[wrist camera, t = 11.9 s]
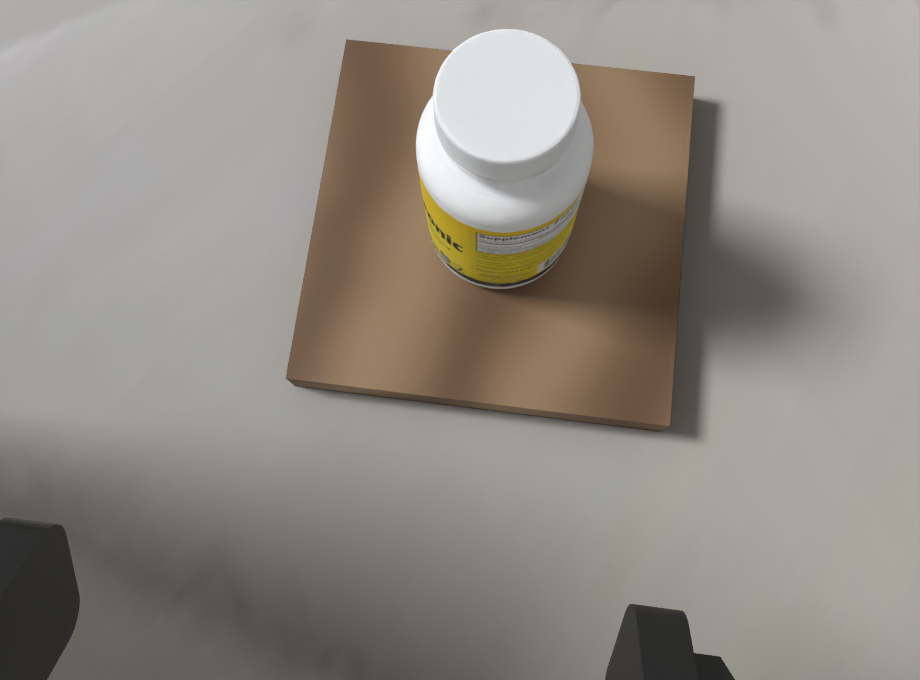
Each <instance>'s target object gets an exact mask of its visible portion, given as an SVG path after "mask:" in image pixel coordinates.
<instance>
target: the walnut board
mask: <svg viewBox="0 0 920 680" xmlns="http://www.w3.org/2000/svg"><path fill="white" fill-rule="evenodd" d="M451 52H452V51H450V50H441V49H431V48H422V47H412V46H403V45H393V44H384V43H375V42H365V41H356V40H346V44H345V50H344V56H343V61H342V67H341V72H340V78H339V84H338V89H337V95H336V100H335V106H334V112H333V117H332V123H331V128H330V134H329V140H328V145H327V151H326V156H325V162H324V168H323V173H322V179H321V184H320V190H319V196H318V201H317V207H316V212H315V218H314V224H313V229H312V235H311V240H310V246H309V251H308V257H307V263H306V268H305V274H304V279H303V285H302V291H301V296H300V302H299V307H298V313H297V319H296V324H295V330H294V335H293V341H292V347H291V352H290V358H289V363H288V369H287V375H286V379H287V380H289V381H290V382H291V383H292V384H293V385H295V386H303V387H311V388H319V389H327V390H335V391H343V392H351V393H359V394H367V395H375V396H383V397H391V398H399V399H407V400H415V401H423V402H431V403H439V404H447V405H455V406H463V407H471V408H479V409H487V410H495V411H503V412H511V413H519V414H527V415H535V416H543V417H551V418H559V419H567V420H575V421H583V422H591V423H599V424H607V425H615V426H623V427H631V428H639V429H647V430H655V431H662V430H664V429H666V428H667V427H669V426H670V418H671V404H672V390H673V376H674V362H675V348H676V334H677V320H678V306H679V292H680V278H681V264H682V250H683V236H684V222H685V207H686V193H687V179H688V165H689V151H690V137H691V123H692V109H693V95H694V81H695V76H686V75H676V74H667V73H658V72H648V71H639V70H629V69H620V68H610V67H601V66H592V65H582V64H573V63H571V64H572V65H573V67H574V69H575V71H576V74H577V76H578V80H579V83H580V89H581V102H582V103H583V105H584V107H585V109H586V111H587V114H588V116H589V119H590V122H591V126H592V131H593V145H594V148H593V158H592V163H591V168H590V172H589V175H588V178H587V182H586V185H585V188H584V191H583V195H582V198H581V201H580V205H579V208H578V211H577V215H576V219H575V222H574V225H573V229H572V232H571V235H570V238H569V240H568V243H567V246H566V248H565V250H564V252H563V254H562V255H561V257H560V258H559V260H558V261H557V262H556V264H555V265H554V266H553V267H552V268H551V269H550V270H549V271H548V272H546V273H545V274H544V275H543V276H541V277H540V278H538V279H536V280H535V281H533V282H530V283H528V284H525V285H522V286H518V287H514V288H508V289H492V288H485V287H481V286H477V285H474V284H472V283H469V282H467V281H465V280H463V279H462V278H460V277H459V276H457V275H456V274H454V273H453V272H452V271H451V270H450V269H449V268H448V267H447V266H446V265H445V264H444V263H443V261H442V260H441V259H440V257H439V256H438V254H437V252H436V250H435V248H434V246H433V243H432V240H431V237H430V233H429V229H428V224H427V218H426V213H425V207H424V201H423V196H422V190H421V184H420V178H419V172H418V166H417V158H416V136H417V130H418V125H419V121H420V118H421V116H422V113H423V111H424V109H425V107H426V105H427V103H428V102H429V100H430V99H431V97H432V96H433V89H434V84H435V80H436V77H437V74H438V72H439V69H440V67H441V66H442V64H443V62H444V61H445V59H446V58H447V57H448V55H450V53H451Z"/></svg>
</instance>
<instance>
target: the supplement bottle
mask: <svg viewBox="0 0 920 680" xmlns="http://www.w3.org/2000/svg"><path fill="white" fill-rule="evenodd" d="M593 148H594V145H593V131H592V126H591V122H590V119H589V116H588V114H587V111H586V109H585V107H584V105H583V103H582V102H581V89H580V83H579V80H578V76H577V74H576V71H575V69H574V67H573V65H572V64H571V62H570V61H569V59H568V58H567V57H566V56H565V54H564V53H563V52H562V51H561V50H560V49H559V48H558V47H556V46H555V45H554V44H553V43H551V42H550V41H548V40H546V39H545V38H543V37H541V36H539V35H537V34H533V33H530V32H527V31H522V30H514V29H498V30H492V31H488V32H484V33H481V34H478V35H476V36H473V37H471V38H469V39H468V40H466V41H464V42H463V43H461V44H460V45H459V46H458V47H456V48H455V49H454V50H453V51H452V52H451V53H450V55H448V57H447V58H446V59H445V61H444V62H443V64H442V66H441V67H440V69H439V72H438V74H437V77H436V80H435V84H434V89H433V96H432V97H431V99H430V100H429V102H428V103H427V105H426V107H425V109H424V111H423V113H422V116H421V118H420V121H419V125H418V130H417V136H416V158H417V166H418V172H419V178H420V184H421V190H422V196H423V201H424V207H425V213H426V218H427V224H428V229H429V233H430V237H431V240H432V243H433V246H434V248H435V250H436V252H437V254H438V256H439V257H440V259H441V260H442V261H443V263H444V264H445V265H446V266H447V267H448V268H449V269H450V270H451V271H452V272H453V273H454V274H456V275H457V276H459V277H460V278H462V279H463V280H465V281H467V282H469V283H472V284H474V285H477V286H481V287H485V288H492V289H508V288H514V287H518V286H522V285H525V284H528V283H530V282H533V281H535V280H536V279H538V278H540V277H541V276H543V275H544V274H545V273H546V272H548V271H549V270H550V269H551V268H552V267H553V266H554V265H555V264H556V262H557V261H558V260H559V258H560V257H561V255H562V254H563V252H564V250H565V248H566V246H567V243H568V240H569V238H570V235H571V232H572V229H573V225H574V222H575V219H576V215H577V211H578V208H579V205H580V201H581V198H582V195H583V191H584V188H585V185H586V182H587V178H588V175H589V172H590V168H591V163H592V158H593Z"/></svg>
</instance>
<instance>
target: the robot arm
mask: <svg viewBox="0 0 920 680" xmlns="http://www.w3.org/2000/svg"><path fill="white" fill-rule="evenodd" d="M79 603H80V599H79V591H78V587H77V582H76V577H75V573H74V568H73V564H72V559H71V554H70V550H69V545H68V541H67V536H66V533H65V530H64V528H63V527H62V526H61V525H58V524H50V523H43V522H35V521H28V520H21V519H13V518H4V519H2V520H0V680H47V679H48V677H49V675H50V673H51V671H52V670H53V668H54V666H55V664H56V663H57V661H58V659H59V657H60V656H61V654H62V652H63V650H64V649H65V647H66V645H67V643H68V641H69V640H70V638H71V635H72V633H73V630H74V628H75V625H76V621H77V617H78V612H79ZM605 680H735V679H734V678H733V676H732V674H731V673H730V671H729V670H728V668H727V667H726V665H725V663H724V662H723V660H722V659H721V657H718V656H711V655H704V654H696V653H694V652H693V646H692V641H691V635H690V630H689V624H688V620H687V617H686V615H685V613H684V612H683V611H680V610H672V609H665V608H657V607H650V606H643V605H635V604H629V606H628V607H627V609H626V612H625V615H624V618H623V621H622V624H621V627H620V631H619V634H618V637H617V640H616V643H615V646H614V649H613V653H612V656H611V659H610V662H609V665H608V669H607V673H606V678H605Z"/></svg>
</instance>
